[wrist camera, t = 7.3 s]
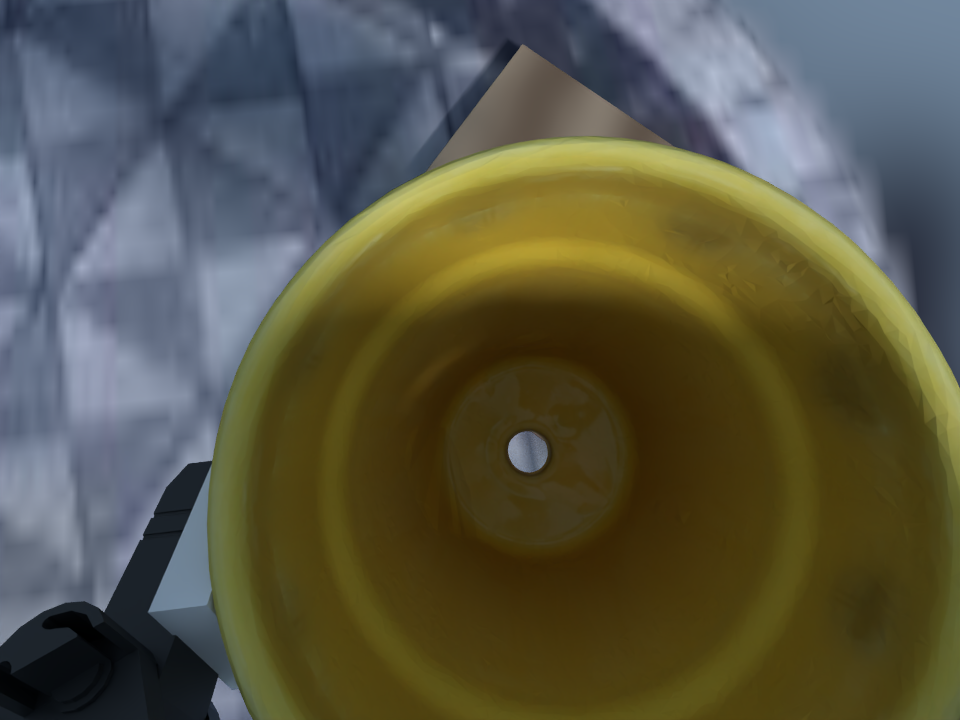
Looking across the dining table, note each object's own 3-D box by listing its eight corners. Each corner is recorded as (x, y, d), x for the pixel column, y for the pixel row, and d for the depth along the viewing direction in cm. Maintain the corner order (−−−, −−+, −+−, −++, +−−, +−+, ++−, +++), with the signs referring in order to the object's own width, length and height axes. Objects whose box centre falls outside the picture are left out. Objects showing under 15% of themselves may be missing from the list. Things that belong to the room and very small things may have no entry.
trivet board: (343, 295, 30) (335, 289, 28) (520, 61, 31) (522, 42, 29) (594, 477, 29) (601, 481, 27) (766, 228, 30) (783, 218, 28)
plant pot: (320, 555, 16) (56, 782, 6) (431, 253, 17) (359, 30, 7) (636, 671, 15) (900, 1114, 6) (730, 353, 16) (1090, 263, 7)
